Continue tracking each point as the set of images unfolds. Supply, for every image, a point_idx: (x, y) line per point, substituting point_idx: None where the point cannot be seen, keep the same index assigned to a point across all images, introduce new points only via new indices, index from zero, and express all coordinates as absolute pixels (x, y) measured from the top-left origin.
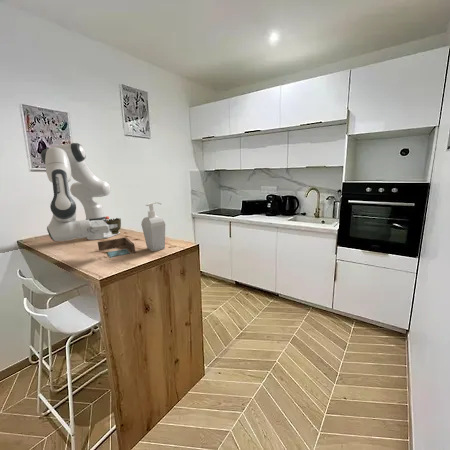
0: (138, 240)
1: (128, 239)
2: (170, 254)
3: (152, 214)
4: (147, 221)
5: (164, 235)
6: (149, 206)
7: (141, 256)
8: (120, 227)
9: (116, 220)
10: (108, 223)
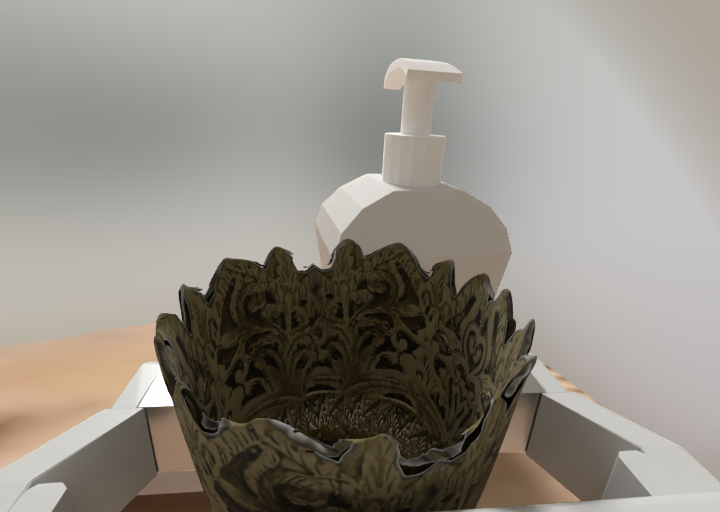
0: (38, 429)
1: (194, 473)
2: (548, 367)
3: (442, 160)
4: (448, 220)
5: None
6: (427, 90)
7: (553, 495)
8: (378, 385)
9: (489, 290)
10: (488, 458)
